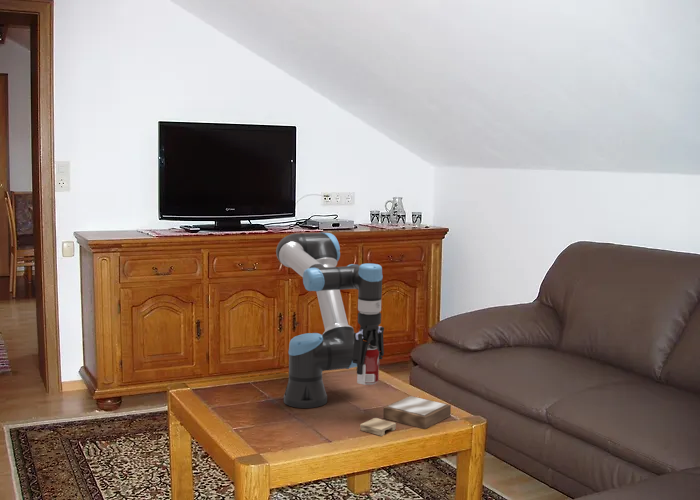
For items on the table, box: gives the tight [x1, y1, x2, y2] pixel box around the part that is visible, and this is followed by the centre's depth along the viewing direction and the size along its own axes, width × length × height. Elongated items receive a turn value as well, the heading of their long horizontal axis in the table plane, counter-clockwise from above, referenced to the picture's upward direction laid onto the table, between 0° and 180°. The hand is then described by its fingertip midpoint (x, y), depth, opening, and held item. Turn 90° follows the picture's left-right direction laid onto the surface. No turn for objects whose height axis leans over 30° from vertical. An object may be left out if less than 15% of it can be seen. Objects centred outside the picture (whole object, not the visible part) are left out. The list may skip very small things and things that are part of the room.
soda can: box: [364, 344, 380, 386], centre depth 250 cm, size 7×7×12 cm
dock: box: [382, 395, 452, 430], centre depth 253 cm, size 16×16×4 cm
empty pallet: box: [359, 417, 397, 437], centre depth 241 cm, size 8×8×2 cm
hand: (367, 380), depth 251 cm, fingers closed on soda can, 7 cm apart
